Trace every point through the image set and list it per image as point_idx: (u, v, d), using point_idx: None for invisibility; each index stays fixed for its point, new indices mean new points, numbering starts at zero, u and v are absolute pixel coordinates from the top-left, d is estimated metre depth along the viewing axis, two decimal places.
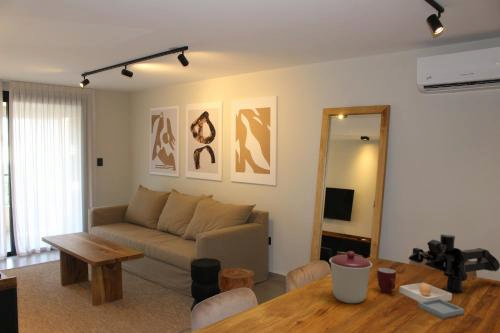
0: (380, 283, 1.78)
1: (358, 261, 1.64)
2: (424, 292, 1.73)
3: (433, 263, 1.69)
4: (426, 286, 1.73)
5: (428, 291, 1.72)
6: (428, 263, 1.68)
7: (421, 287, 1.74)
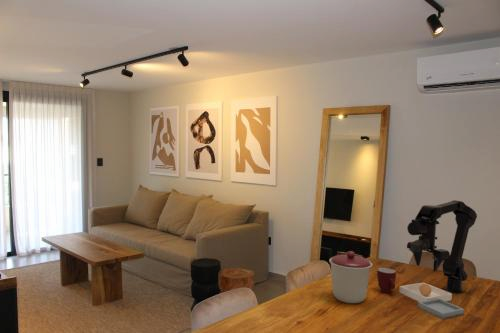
0: (380, 283, 1.78)
1: (358, 261, 1.64)
2: (424, 292, 1.73)
3: (437, 264, 1.69)
4: (426, 286, 1.73)
5: (428, 291, 1.72)
6: (435, 269, 1.70)
7: (421, 287, 1.74)
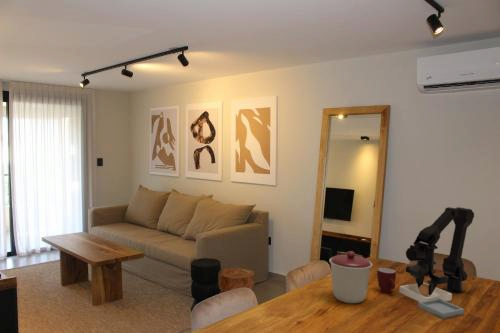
0: (380, 283, 1.78)
1: (358, 261, 1.64)
2: (424, 292, 1.73)
3: (432, 288, 1.71)
4: (426, 286, 1.73)
5: (428, 291, 1.72)
6: (430, 293, 1.72)
7: (421, 287, 1.74)
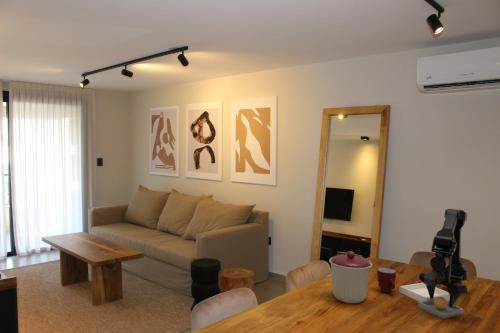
0: (380, 283, 1.78)
1: (358, 261, 1.64)
2: (440, 306, 1.57)
3: (453, 300, 1.54)
4: (442, 299, 1.58)
5: (444, 305, 1.57)
6: (451, 305, 1.54)
7: (436, 300, 1.59)
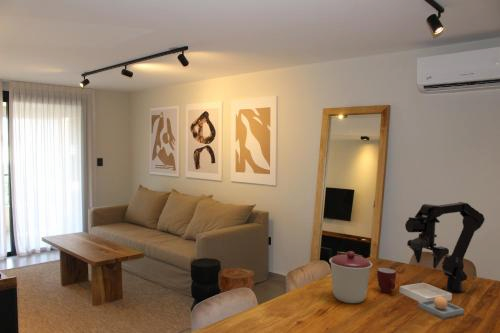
0: (380, 283, 1.78)
1: (358, 261, 1.64)
2: (440, 306, 1.57)
3: (436, 261, 1.74)
4: (441, 299, 1.58)
5: (444, 304, 1.57)
6: (435, 266, 1.74)
7: (436, 300, 1.59)
